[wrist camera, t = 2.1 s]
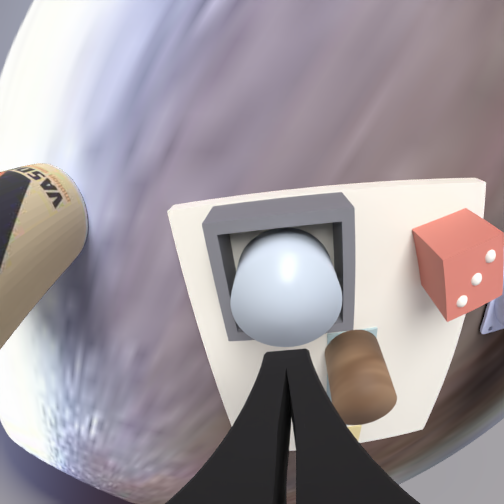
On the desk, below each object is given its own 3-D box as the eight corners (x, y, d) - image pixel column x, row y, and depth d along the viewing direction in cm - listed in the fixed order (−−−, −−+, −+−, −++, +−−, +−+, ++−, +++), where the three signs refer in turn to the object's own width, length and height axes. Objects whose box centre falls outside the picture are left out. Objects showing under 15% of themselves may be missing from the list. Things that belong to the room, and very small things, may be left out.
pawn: (380, 325, 19) (402, 381, 14) (375, 365, 20) (391, 419, 16) (324, 333, 19) (334, 392, 15) (324, 372, 21) (332, 428, 16)
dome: (329, 222, 15) (341, 248, 12) (332, 305, 17) (341, 341, 14) (230, 233, 15) (220, 260, 12) (245, 314, 17) (240, 350, 14)
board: (475, 177, 16) (512, 195, 12) (420, 420, 26) (429, 449, 22) (173, 204, 18) (149, 229, 14) (242, 442, 28) (239, 474, 24)
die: (465, 207, 15) (506, 234, 11) (470, 263, 17) (504, 297, 13) (411, 229, 16) (445, 262, 12) (421, 284, 18) (448, 325, 14)
